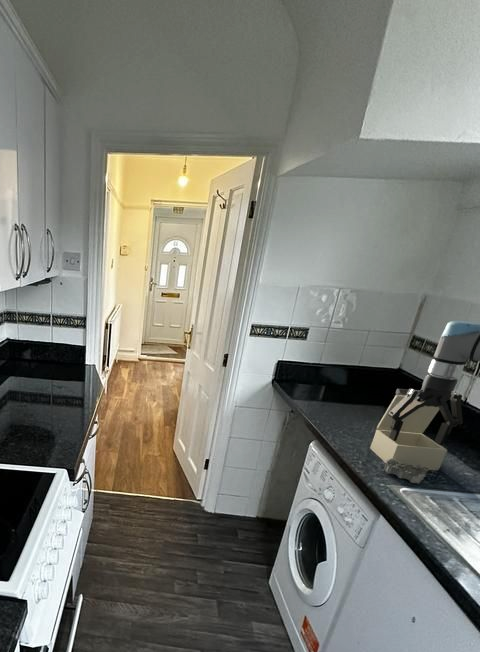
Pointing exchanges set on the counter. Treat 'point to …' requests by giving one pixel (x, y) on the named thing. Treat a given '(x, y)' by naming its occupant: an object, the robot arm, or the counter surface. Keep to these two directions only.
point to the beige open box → (408, 449)
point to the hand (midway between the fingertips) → (415, 441)
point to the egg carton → (406, 470)
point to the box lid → (414, 420)
